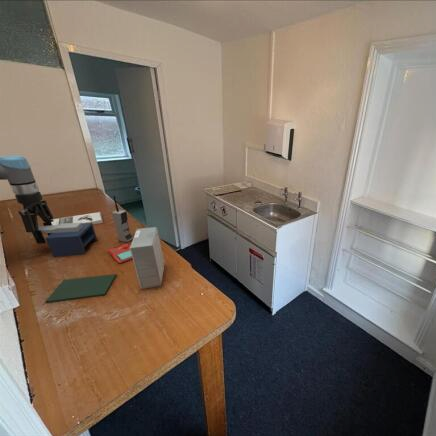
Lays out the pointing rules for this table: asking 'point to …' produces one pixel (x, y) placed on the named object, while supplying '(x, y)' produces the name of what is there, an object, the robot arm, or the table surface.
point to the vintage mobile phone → (121, 224)
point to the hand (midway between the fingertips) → (46, 238)
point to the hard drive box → (147, 257)
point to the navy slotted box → (71, 241)
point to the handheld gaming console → (121, 253)
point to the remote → (60, 228)
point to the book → (80, 219)
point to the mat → (82, 288)
